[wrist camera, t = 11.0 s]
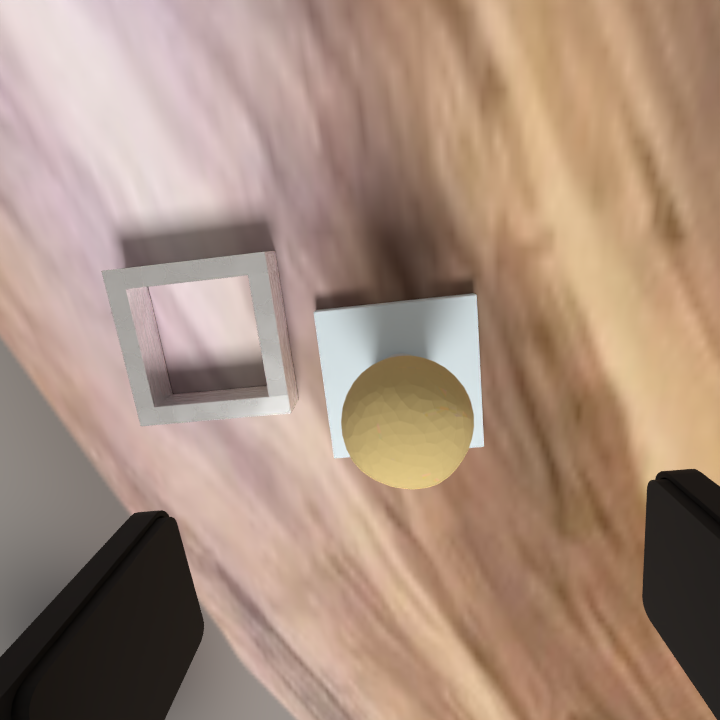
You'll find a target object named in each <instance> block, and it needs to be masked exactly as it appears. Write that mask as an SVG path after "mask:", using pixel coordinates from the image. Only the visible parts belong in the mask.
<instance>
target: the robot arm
mask: <svg viewBox="0 0 720 720" xmlns="http://www.w3.org/2000/svg"><path fill="white" fill-rule="evenodd" d="M642 597H643V604H644V608H645V611H646V613H647V616H648V618H649V619H650V621H651V623H652V624H653V626H654V627H655V628H656V630H657V631H658V633H659V634H660V636H661V637H662V639H663V640H664V642H665V643H666V645H667V646H668V648H669V649H670V651H671V652H672V654H673V655H674V657H675V658H676V659H677V661H678V662H679V664H680V665H681V667H682V668H683V670H684V671H685V673H686V674H687V676H688V677H689V679H690V680H691V682H692V683H693V685H694V686H695V688H696V689H697V690H698V692H699V693H700V695H701V696H702V698H703V699H704V701H705V702H706V704H707V705H708V707H709V708H710V710H711V711H712V713H713V714H714V716H715V717H716V719H717V720H720V486H718V485H717V484H716V483H714V482H713V481H712V480H710V479H709V478H708V477H706V476H705V475H704V474H702V473H701V472H700V471H698V470H696V469H686V470H673V471H661V472H659V473H658V474H657V476H656V479H655V480H651V481H649V483H648V486H647V503H646V526H645V549H644V571H643V594H642ZM203 631H204V622H203V617H202V613H201V610H200V606H199V602H198V599H197V595H196V591H195V588H194V584H193V580H192V576H191V573H190V569H189V565H188V562H187V558H186V554H185V551H184V547H183V543H182V540H181V536H180V532H179V529H178V525H177V522H176V520H175V519H174V518H173V517H169V515H168V514H167V513H166V512H165V511H149V512H138V513H134V514H133V515H132V516H130V518H129V519H128V520H127V521H126V522H125V523H124V524H123V525H122V526H121V527H120V528H119V529H118V531H117V532H116V533H115V534H114V535H113V536H112V537H111V538H110V539H109V540H108V541H107V543H105V545H104V546H103V547H102V548H101V549H100V550H99V551H98V552H97V553H96V554H95V555H94V556H93V558H92V559H91V560H90V561H89V562H88V563H87V564H86V565H85V566H84V567H83V568H82V569H81V571H80V572H79V573H78V574H77V575H76V576H75V577H74V578H73V579H72V580H71V581H70V583H68V585H67V586H66V587H65V588H64V589H63V590H62V591H61V592H60V593H59V594H58V595H57V597H56V598H55V599H54V600H53V601H52V602H51V603H50V604H49V605H48V606H47V607H46V609H45V610H44V611H43V612H42V613H41V614H40V615H39V616H38V617H37V618H36V619H35V620H34V621H33V622H32V623H31V625H30V626H29V627H28V628H27V629H26V630H25V631H24V632H23V633H22V634H21V636H19V638H18V639H17V640H16V641H15V642H14V643H13V644H12V645H11V646H10V647H9V648H8V649H7V650H6V652H5V653H4V654H3V655H2V656H1V657H0V720H165V718H166V715H167V713H168V711H169V709H170V707H171V705H172V702H173V700H174V698H175V696H176V694H177V692H178V690H179V688H180V685H181V683H182V681H183V679H184V677H185V675H186V673H187V670H188V668H189V666H190V664H191V662H192V660H193V657H194V655H195V653H196V651H197V649H198V647H199V644H200V642H201V640H202V636H203Z"/></svg>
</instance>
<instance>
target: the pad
mask: <svg viewBox="0 0 720 720" xmlns="http://www.w3.org/2000/svg"><path fill="white" fill-rule="evenodd" d="M314 318H315V325H316V333H317V340H318V347H319V354H320V361H321V368H322V375H323V382H324V390H325V397H326V404H327V411H328V418H329V425H330V432H331V439H332V447H333V454H334V458H344V457H350V455H349V453H348V451H347V450H346V446H345V443H344V439H343V436H342V427H341V417H342V408H343V404H344V401H345V398H346V395H347V393H348V391H349V390H350V388H351V386H352V384H353V383H354V381H355V380H356V379H357V378H358V377H359V376H360V374H361V373H362V372H364V371H365V370H366V369H368V368H369V367H370V366H372V365H373V364H375V363H377V362H379V361H381V360H384V359H385V358H387V357H389V356H391V355H394V354H399V353H405V354H411V355H414V356H417V357H422V358H426V359H429V360H431V361H434V362H436V363H438V364H440V365H441V366H443V367H445V368H446V369H447V370H449V371H450V372H451V373H452V374H453V375H455V377H456V378H457V379H458V380H459V381H460V383H461V384H462V385H463V386H464V388H465V390H466V392H467V394H468V396H469V398H470V401H471V404H472V409H473V413H474V430H473V436H472V440H471V443H470V447H469V448H474V447H484V436H483V416H482V395H481V375H480V355H479V334H478V314H477V295H476V294H474V293H471V294H462V295H452V296H443V297H434V298H424V299H415V300H405V301H396V302H387V303H377V304H368V305H358V306H349V307H340V308H330V309H321V310H316V311H315V312H314Z"/></svg>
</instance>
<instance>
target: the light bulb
mask: <svg viewBox="0 0 720 720" xmlns="http://www.w3.org/2000/svg"><path fill="white" fill-rule="evenodd" d="M341 427H342V436H343V439H344V443H345V446H346V450H347V451H348V453H349V455H350V457H351V459H352V460H353V462H354V463H355V464H356V465H357V466H358V468H359V469H360V470H361V471H362V472H364V473H365V474H366V475H368V476H369V477H371V478H373V479H374V480H376V481H378V482H381V483H383V484H386V485H388V486H391V487H396V488H403V489H421V488H428V487H431V486H435V485H437V484H439V483H441V482H442V481H443V480H445V479H446V478H448V477H449V476H450V475H451V474H452V473H453V472H454V471H455V470H456V469H457V467H458V466H459V465H460V463H461V462H462V461H463V459H464V457H465V455H466V453H467V451H468V449H469V447H470V443H471V440H472V436H473V430H474V413H473V409H472V404H471V401H470V398H469V396H468V394H467V392H466V390H465V388H464V386H463V385H462V384H461V383H460V381H459V380H458V379H457V378H456V377H455V375H453V374H452V373H451V372H450V371H449V370H447V369H446V368H445V367H443V366H441V365H440V364H438V363H436V362H434V361H431V360H429V359H426V358H422V357H417V356H414V355H411V354H405V353H399V354H394V355H391V356H389V357H387V358H385V359H384V360H381V361H379V362H377V363H375V364H373V365H372V366H370V367H369V368H368V369H366V370H365V371H364V372H362V373H361V374H360V376H359V377H358V378H357V379H356V380H355V381H354V383H353V384H352V386H351V388H350V390H349V391H348V393H347V395H346V398H345V401H344V404H343V408H342V417H341Z"/></svg>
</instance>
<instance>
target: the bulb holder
mask: <svg viewBox="0 0 720 720" xmlns="http://www.w3.org/2000/svg"><path fill="white" fill-rule="evenodd" d="M102 275H103V279H104V283H105V287H106V291H107V295H108V299H109V303H110V307H111V311H112V315H113V319H114V323H115V326H116V330H117V334H118V338H119V342H120V346H121V350H122V354H123V358H124V362H125V366H126V370H127V374H128V378H129V382H130V386H131V390H132V394H133V398H134V402H135V405H136V409H137V413H138V417H139V421H140V425H141V426H150V425H161V424H173V423H184V422H196V421H207V420H219V419H230V418H242V417H253V416H265V415H276V414H288V413H291V412H292V410H293V409H294V407H295V405H296V403H297V402H298V400H299V399H298V393H297V387H296V380H295V374H294V368H293V361H292V355H291V348H290V342H289V336H288V329H287V323H286V316H285V310H284V304H283V297H282V291H281V284H280V278H279V272H278V265H277V259H276V252H275V251H267V252H257V253H249V254H241V255H232V256H224V257H215V258H207V259H199V260H190V261H182V262H173V263H165V264H157V265H148V266H140V267H131V268H123V269H114V270H106V271H102ZM245 275H248V278H249V284H250V290H251V296H252V301H253V307H254V313H255V319H256V324H257V330H258V336H259V342H260V347H261V353H262V359H263V365H264V370H265V376H266V382H267V386H258V387H247V388H236V389H225V390H215V391H204V392H193V393H182V394H172V390H171V385H170V381H169V377H168V372H167V368H166V364H165V359H164V355H163V351H162V346H161V342H160V338H159V333H158V329H157V324H156V320H155V316H154V311H153V307H152V303H151V298H150V294H149V290H148V287H149V286H158V285H167V284H175V283H184V282H193V281H201V280H210V279H219V278H228V277H236V276H245Z"/></svg>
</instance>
